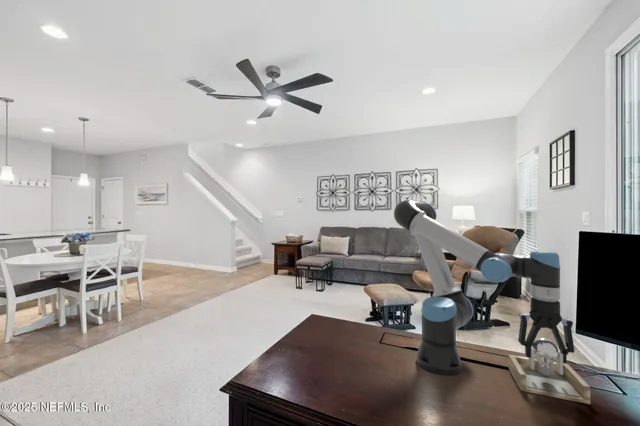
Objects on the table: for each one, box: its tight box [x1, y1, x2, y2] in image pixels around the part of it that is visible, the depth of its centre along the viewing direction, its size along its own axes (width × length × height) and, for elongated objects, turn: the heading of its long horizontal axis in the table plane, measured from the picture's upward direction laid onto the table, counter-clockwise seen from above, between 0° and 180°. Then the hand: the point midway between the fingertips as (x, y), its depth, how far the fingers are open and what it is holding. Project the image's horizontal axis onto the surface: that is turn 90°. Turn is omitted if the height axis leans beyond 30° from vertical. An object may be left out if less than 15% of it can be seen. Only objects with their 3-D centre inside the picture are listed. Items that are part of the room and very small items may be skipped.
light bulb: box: [532, 337, 560, 376], centre depth 90 cm, size 7×7×12 cm
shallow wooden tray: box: [508, 354, 591, 405], centre depth 90 cm, size 17×14×5 cm
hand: (545, 369), depth 90 cm, fingers closed on light bulb, 7 cm apart
